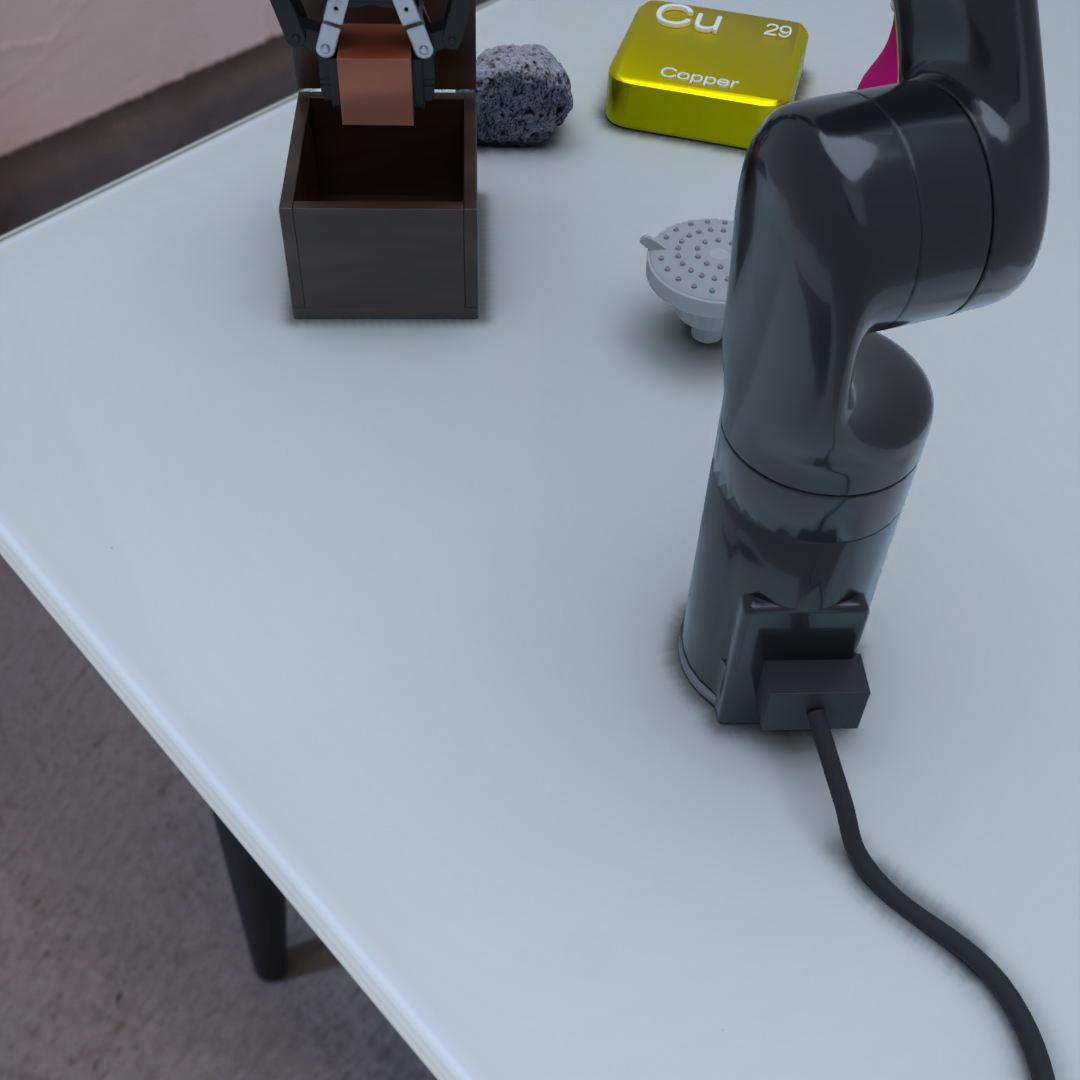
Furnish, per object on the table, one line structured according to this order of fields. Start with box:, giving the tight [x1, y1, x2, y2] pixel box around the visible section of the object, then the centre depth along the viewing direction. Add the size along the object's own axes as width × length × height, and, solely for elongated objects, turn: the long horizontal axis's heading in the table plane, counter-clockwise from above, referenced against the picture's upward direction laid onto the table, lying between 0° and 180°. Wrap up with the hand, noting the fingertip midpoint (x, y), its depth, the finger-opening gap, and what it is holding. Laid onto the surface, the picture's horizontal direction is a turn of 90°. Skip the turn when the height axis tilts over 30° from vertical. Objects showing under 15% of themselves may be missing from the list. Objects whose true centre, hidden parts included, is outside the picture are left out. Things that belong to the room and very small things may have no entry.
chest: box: [278, 90, 479, 319], centre depth 93 cm, size 15×13×9 cm
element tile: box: [605, 0, 809, 150], centre depth 111 cm, size 15×15×5 cm
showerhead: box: [639, 218, 734, 344], centre depth 89 cm, size 9×7×10 cm
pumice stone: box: [454, 43, 574, 148], centre depth 106 cm, size 10×8×10 cm
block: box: [337, 23, 415, 126], centre depth 85 cm, size 5×5×5 cm
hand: (379, 102), depth 86 cm, fingers closed on block, 4 cm apart
